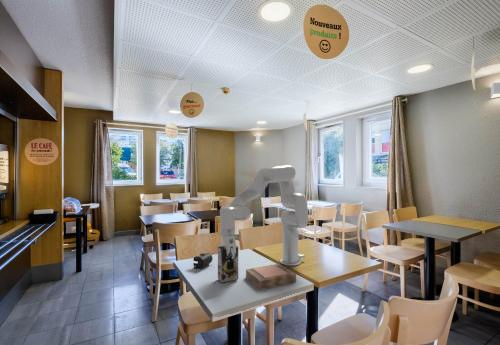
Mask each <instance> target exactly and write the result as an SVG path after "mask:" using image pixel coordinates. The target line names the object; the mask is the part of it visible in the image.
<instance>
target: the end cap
mask: <svg viewBox="0 0 500 345" xmlns="http://www.w3.org/2000/svg"><path fill="white" fill-rule="evenodd" d="M192 259H193V269H194V270H195V269H196V270H202V269H203V268H206V266H208V265H209V264H211V263H212V262H213V255H212V253H210V252H207V253H200V254H199V256H198V255H196V256H194V257H193V258H192ZM196 262H197V263H196Z"/></svg>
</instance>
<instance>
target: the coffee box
mask: <svg viewBox="0 0 500 345" xmlns="http://www.w3.org/2000/svg"><path fill="white" fill-rule="evenodd" d="M229 255H231V253H229ZM230 257H231V256H229V258H230ZM227 261H228V256H227V255H226V249H225V248H223V247H222V246H221V245H220V246H217V279H218V280H219V281H220V282H221V283H226V282H230V281H236V280H239V246H237V245H236V255H235V257H234V269H230V270H228V269H227Z"/></svg>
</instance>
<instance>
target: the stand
mask: <svg viewBox="0 0 500 345" xmlns="http://www.w3.org/2000/svg"><path fill="white" fill-rule="evenodd" d="M245 278H246V279H247V280H249V281H250V283H252V284H253V285H254V286H255V287H256V288H258V289H259V290H260V291H261V290H262V291H263V290H265V289H270V288H274V287H279V286H284V285H289V284H293V283H297V274H296V273H295V272H294V271H292V270H290V269H288V268H287V267H286V266H283V264H281V263H276V264H271V265H270V264H269V265H264V266H258V267H253V268H247V269H245Z"/></svg>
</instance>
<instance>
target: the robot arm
mask: <svg viewBox="0 0 500 345" xmlns="http://www.w3.org/2000/svg"><path fill="white" fill-rule="evenodd" d="M295 169H296V168H294V167H293V166H292V165H275V166H273V167H262V168H259V170H258V171H257V173H256V174H255V175H254V177H253V178H252V180H251V181H250V183H249V185H248V186H247V187H246V188H244V189H243V190H241V192H239V193H238V194H237V195H236V196H235V197H234V198H233V199H232V201H231V202H230V204H229V205H228V206H222V207H220V209H219V234H220V236H221V237H220V247H221V246H222V247H223V248H225V249H226V255H227V256H228V261H227V269H228V270H230V269H234V257H235V255H236V246H237V244H236V243H237V241H236V221H242V222H243V221H246V220H248V219H249V218H250V217H251V209H249V207H248V206H245V205H246V204H247V203H248V202H250V201H252V200H255V199H257V198H259V197H260V196H262V194H263V192H264V191H265V189H266V188H267V186H268V184H269V183H270V184H274V183H275V184H276V183H278V185H279V187H280V188H279V189H280V195H281V196H280V197H281V205H282V207H284V209H286V210H284V211H283V212H282V213H281V215H280V222H281V223H280V224H281V226H282V227H281V229H282V258H280V259H279V261H280V264H281V265H285V266H288V267H289V266H294V267H295V266H299V265H301V263H302V260H301V259H305V257H306V256H305V254H300V253H299V230H298V229H305V228H306V227H307V226H308V224H309V210H308V201H307V198H306V197H305V195H304V194H302V193H298V192H297V193H296V189H295V184H294V181H293V179H295V177H296V174H297V172H296V170H295ZM229 253H231V255H229ZM229 256H231V257H230V258H229Z"/></svg>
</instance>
